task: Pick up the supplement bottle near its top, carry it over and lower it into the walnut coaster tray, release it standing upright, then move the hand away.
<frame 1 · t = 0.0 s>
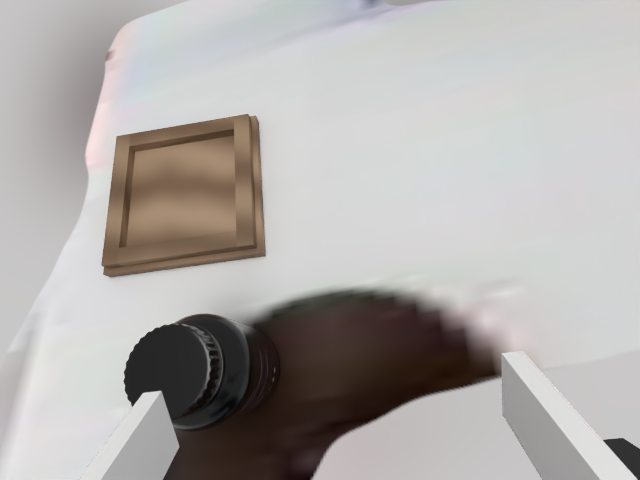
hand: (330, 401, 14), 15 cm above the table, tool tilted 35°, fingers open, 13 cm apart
walnut tray: (188, 195, 36), on the table
supplement bottle: (242, 369, 30), on the table
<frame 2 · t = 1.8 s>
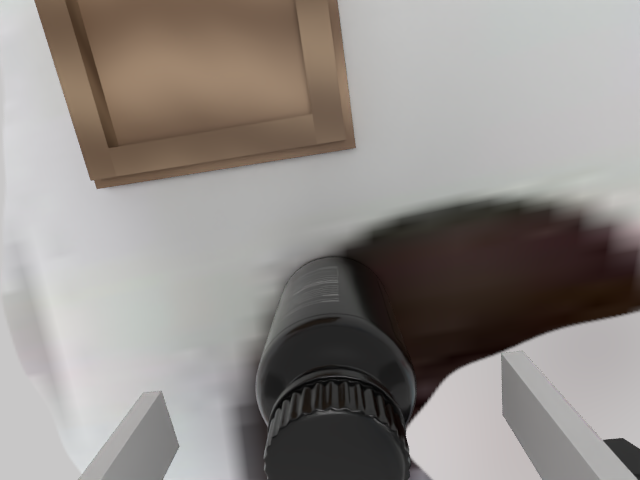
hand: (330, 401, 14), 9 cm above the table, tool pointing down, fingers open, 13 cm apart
walnut tray: (197, 26, 19), on the table
supplement bottle: (335, 303, 23), on the table
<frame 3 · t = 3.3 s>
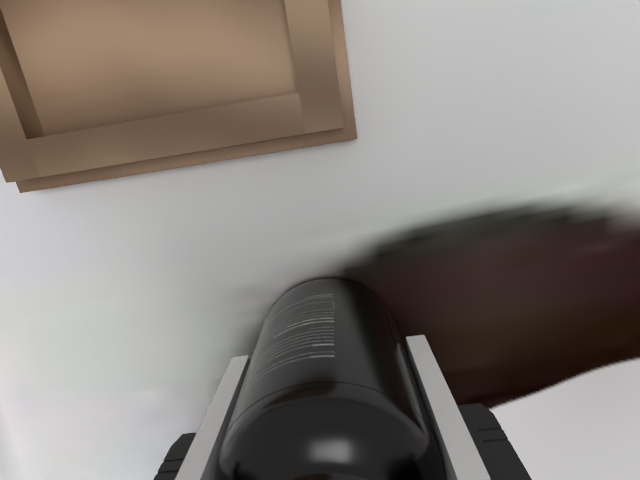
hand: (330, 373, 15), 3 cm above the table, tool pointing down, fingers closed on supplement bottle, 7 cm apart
supplement bottle: (330, 334, 19), on the table, touching gripper
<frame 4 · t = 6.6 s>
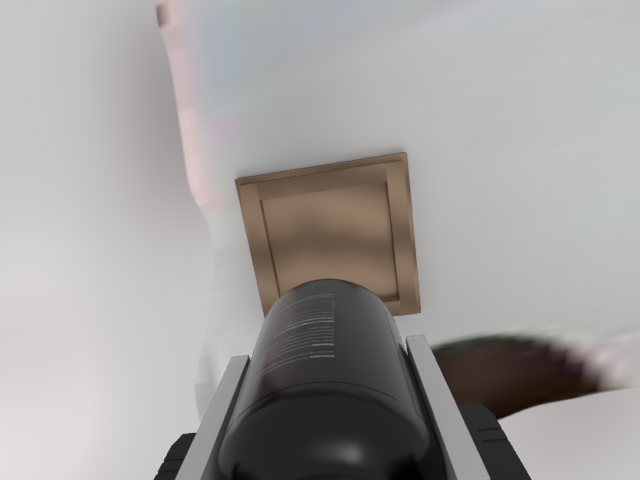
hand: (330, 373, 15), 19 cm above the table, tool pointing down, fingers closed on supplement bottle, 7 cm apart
walnut tray: (331, 245, 34), on the table
supplement bottle: (330, 334, 18), point 16 cm above the table, touching gripper
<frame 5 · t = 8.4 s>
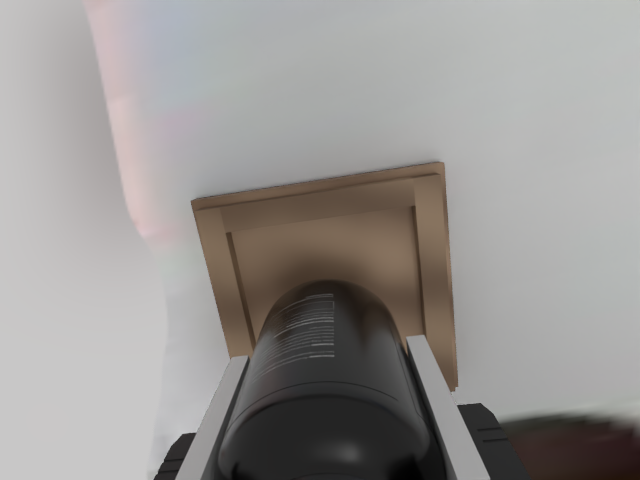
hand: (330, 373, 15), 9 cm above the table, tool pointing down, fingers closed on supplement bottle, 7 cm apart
walnut tray: (332, 293, 24), on the table
supplement bottle: (330, 334, 18), point 5 cm above the table, touching gripper
when the fingers open (5 cm above the table, at t = 9.9 s): supplement bottle drops 1 cm, resting on walnut tray.
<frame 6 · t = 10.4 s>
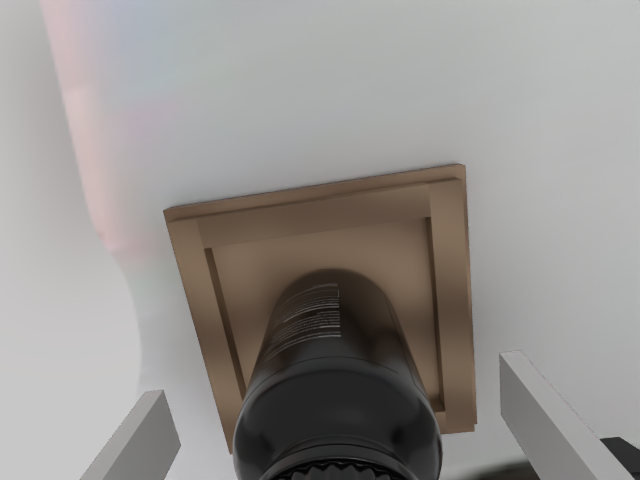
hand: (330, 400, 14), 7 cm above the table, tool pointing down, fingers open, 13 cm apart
walnut tray: (331, 316, 20), on the table
supplement bottle: (334, 323, 20), point 1 cm above the table, touching walnut tray
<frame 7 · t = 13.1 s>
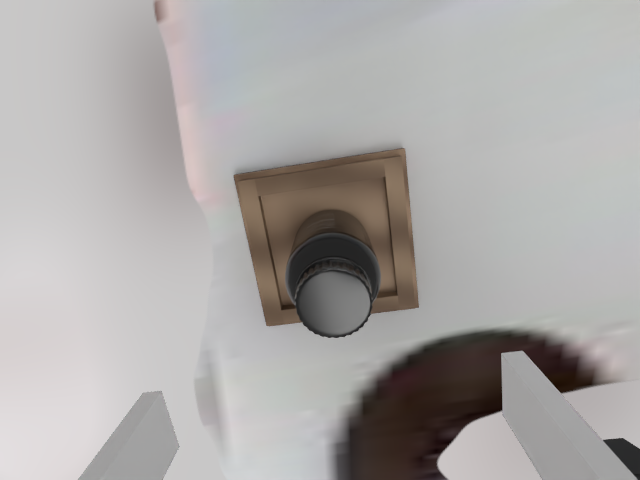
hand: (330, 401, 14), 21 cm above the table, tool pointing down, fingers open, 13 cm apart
walnut tray: (330, 241, 34), on the table
supplement bottle: (332, 243, 33), point 1 cm above the table, touching walnut tray
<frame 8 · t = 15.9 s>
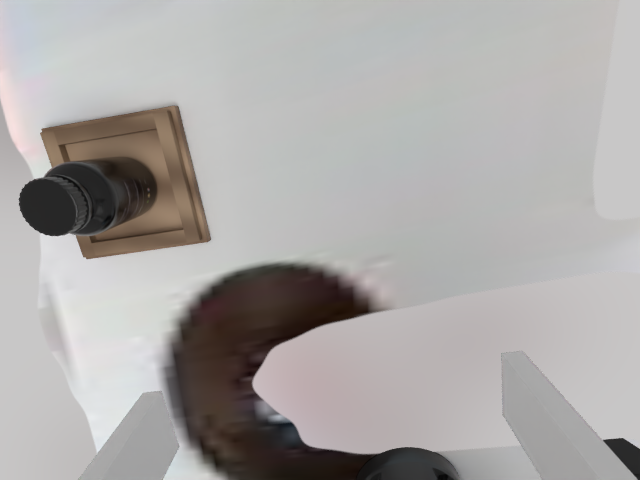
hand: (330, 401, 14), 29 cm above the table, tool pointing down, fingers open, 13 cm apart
walnut tray: (132, 186, 41), on the table
supplement bottle: (130, 187, 40), point 1 cm above the table, touching walnut tray
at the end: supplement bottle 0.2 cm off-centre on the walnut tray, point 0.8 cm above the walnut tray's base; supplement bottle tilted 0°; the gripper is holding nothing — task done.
